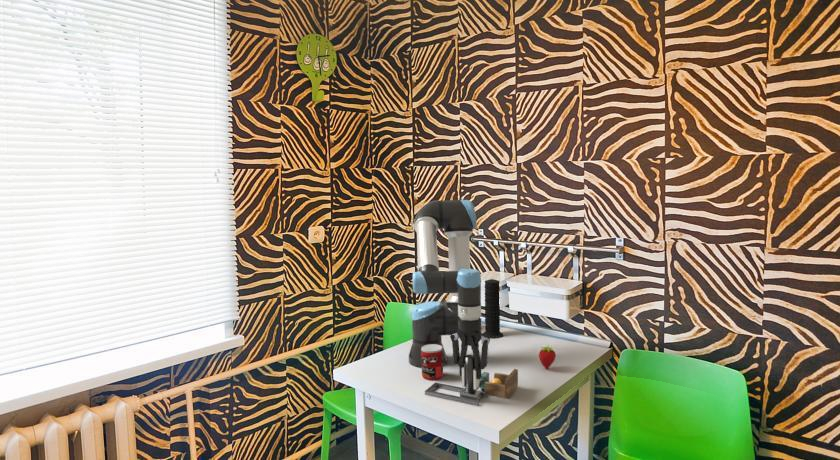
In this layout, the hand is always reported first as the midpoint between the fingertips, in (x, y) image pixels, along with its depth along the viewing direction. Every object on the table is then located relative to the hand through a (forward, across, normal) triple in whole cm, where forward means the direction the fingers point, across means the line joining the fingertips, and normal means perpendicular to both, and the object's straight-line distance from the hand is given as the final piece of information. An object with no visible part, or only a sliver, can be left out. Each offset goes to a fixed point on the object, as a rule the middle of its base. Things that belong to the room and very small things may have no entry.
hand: (470, 386), depth 161 cm
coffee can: (+4, -38, +64) cm, 74 cm away
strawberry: (+4, +16, +36) cm, 40 cm away
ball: (+1, +6, +10) cm, 12 cm away
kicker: (+4, 0, +5) cm, 6 cm away
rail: (+4, -5, 0) cm, 6 cm away
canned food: (+4, -20, +11) cm, 23 cm away
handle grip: (+4, -18, +66) cm, 68 cm away
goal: (+4, +7, +10) cm, 13 cm away
